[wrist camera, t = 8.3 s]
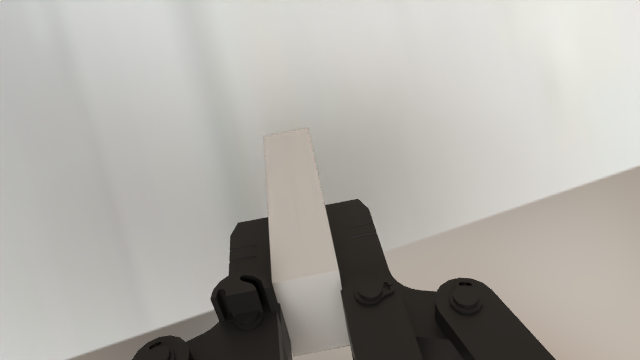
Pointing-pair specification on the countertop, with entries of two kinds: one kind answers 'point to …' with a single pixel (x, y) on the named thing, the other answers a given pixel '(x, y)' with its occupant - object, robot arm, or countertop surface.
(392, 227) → the countertop surface
